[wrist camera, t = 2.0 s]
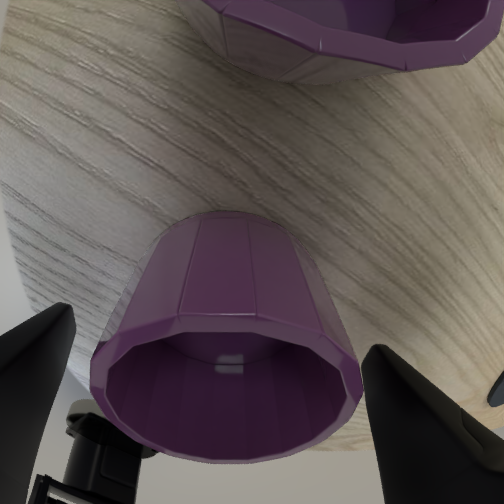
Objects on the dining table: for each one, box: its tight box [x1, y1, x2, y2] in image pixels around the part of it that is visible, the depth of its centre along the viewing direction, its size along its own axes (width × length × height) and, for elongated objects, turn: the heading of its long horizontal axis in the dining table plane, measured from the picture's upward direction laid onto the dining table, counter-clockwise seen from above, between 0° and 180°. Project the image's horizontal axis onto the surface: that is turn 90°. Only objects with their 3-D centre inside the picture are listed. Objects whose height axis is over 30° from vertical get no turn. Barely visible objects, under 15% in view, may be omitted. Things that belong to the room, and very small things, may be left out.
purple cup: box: [89, 211, 364, 464], centre depth 8 cm, size 6×6×4 cm
